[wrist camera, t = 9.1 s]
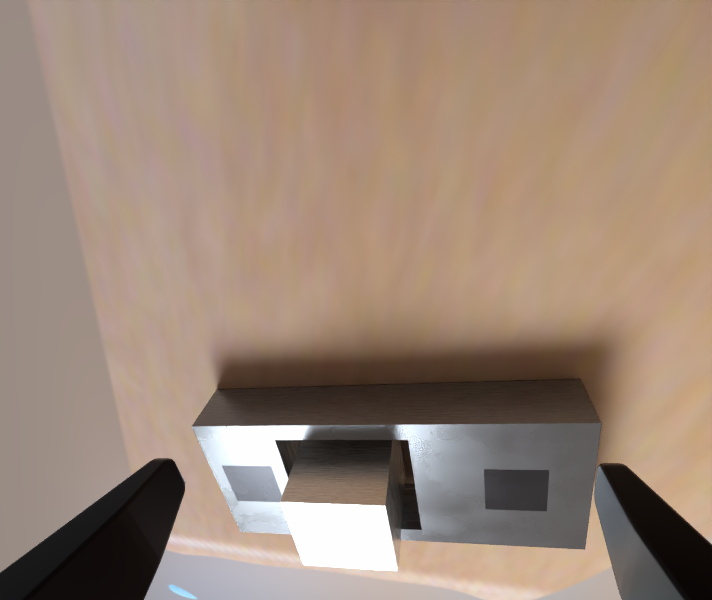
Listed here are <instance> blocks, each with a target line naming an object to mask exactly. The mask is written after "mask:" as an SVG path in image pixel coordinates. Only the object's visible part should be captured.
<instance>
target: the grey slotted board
mask: <svg viewBox="0 0 712 600" xmlns="http://www.w3.org/2000/svg"><path fill="white" fill-rule="evenodd" d="M601 424H602V423H601V421H600V419H599V417H598V415H597V413H596V410H595V408H594V406H593V404H592V402H591V400H590V398H589V396H588V394H587V391H586V389H585V387H584V385H583V383H582V381H581V379H564V380H529V381H494V382H460V383H425V384H391V385H356V386H321V387H287V388H252V389H218V390H216V391H215V393H214V394H213V396H212V397H211V399H210V400H209V402H208V403H207V405H206V406H205V408H204V409H203V411H202V412H201V414H200V415H199V416H198V418H197V419H196V421H195V422H194V424H193V425H192V428H193V430H194V432H195V434H196V437H197V439H198V441H199V443H200V445H201V447H202V449H203V452H204V454H205V456H206V458H207V460H208V462H209V465H210V467H211V469H212V471H213V473H214V475H215V478H216V480H217V482H218V484H219V486H220V488H221V491H222V493H223V495H224V497H225V499H226V501H227V504H228V506H229V508H230V510H231V512H232V514H233V517H234V519H235V521H236V523H237V525H238V527H239V530H240V532H257V533H277V534H292V533H291V530H290V528H289V525H288V522H287V519H286V517H285V514H284V511H283V509H282V506H281V503H280V501H281V498H282V495H283V492H284V489H285V486H286V484H287V481H288V478H289V475H290V472H291V469H292V467H293V464H294V461H295V458H296V455H297V452H298V450H299V447H300V444H301V441H302V440H408V442H409V449H410V456H411V462H412V469H413V475H414V482H415V484H404V499H403V513H402V527H401V540H413V541H432V542H451V543H471V544H490V545H510V546H529V547H548V548H568V549H585V546H586V538H587V530H588V523H589V515H590V507H591V500H592V492H593V485H594V477H595V469H596V462H597V454H598V446H599V439H600V431H601Z"/></svg>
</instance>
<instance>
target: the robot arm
mask: <svg viewBox="0 0 712 600" xmlns="http://www.w3.org/2000/svg"><path fill="white" fill-rule="evenodd" d="M184 492H185V482H184V479H183V477H182V475H181V473H180V472H179V470H178V468H177V466H176V464H175V462H174V461H173V460H172V459H169V458H157V459H154V460H152V461H150V462H149V463H147V464H146V465H145V466H143V467H142V468H141V469H139V470H138V471H137V472H135V473H134V474H133V475H131V476H130V477H129V478H127V479H126V480H125V481H123V482H122V483H121V484H119V485H118V486H117V487H115V488H114V489H112V490H111V491H110V492H108V493H107V494H106V495H104V496H103V497H102V498H100V499H99V500H98V501H96V502H95V503H94V504H92V505H91V506H89V507H88V508H87V509H85V510H84V511H83V512H82V513H80V514H79V515H77V516H76V517H75V518H73V519H72V520H71V521H69V522H68V523H67V524H65V525H64V526H63V527H61V528H60V529H59V530H57V531H56V532H55V533H53V534H52V535H50V536H49V537H48V538H46V539H45V540H44V541H42V542H41V543H40V544H38V545H37V546H36V547H34V548H33V549H32V550H30V551H29V552H28V553H26V554H25V555H23V556H22V557H21V558H19V559H18V560H17V561H16V562H14V563H13V564H11V565H10V566H9V567H7V568H6V569H5V570H3V571H2V572H0V600H144V598H145V596H146V594H147V592H148V589H149V587H150V585H151V583H152V580H153V578H154V576H155V574H156V571H157V569H158V566H159V564H160V562H161V559H162V556H163V553H164V551H165V548H166V545H167V542H168V539H169V537H170V534H171V531H172V528H173V525H174V522H175V519H176V516H177V513H178V510H179V507H180V504H181V502H182V499H183V496H184ZM594 497H595V504H596V508H597V512H598V516H599V519H600V523H601V527H602V531H603V534H604V538H605V542H606V546H607V549H608V553H609V557H610V560H611V564H612V568H613V571H614V575H615V579H616V582H617V586H618V589H619V593H620V596H621V599H622V600H712V544H711V543H710V542H709V541H707V540H706V539H705V538H704V537H703V536H702V535H701V534H700V533H699V532H698V531H697V530H696V529H694V528H693V527H692V526H691V525H690V524H689V523H688V522H687V521H686V520H685V519H684V518H683V517H681V516H680V515H679V514H678V513H677V512H676V511H675V510H674V509H673V508H672V507H671V506H670V505H668V504H667V503H666V502H665V501H664V500H663V499H662V498H661V497H660V496H659V495H658V494H656V493H655V492H654V491H653V490H652V489H651V488H650V487H649V486H648V485H647V484H646V483H645V482H643V481H642V480H641V479H640V478H639V477H638V476H637V475H636V474H635V473H634V472H633V471H632V470H630V469H629V468H628V467H627V466H625V465H624V464H620V463H602V464H600V465H599V466H598V469H597V476H596V483H595V491H594Z"/></svg>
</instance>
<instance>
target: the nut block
mask: <svg viewBox="0 0 712 600" xmlns="http://www.w3.org/2000/svg"><path fill="white" fill-rule="evenodd" d="M404 484H405V467H404V461H403V454H402V448H401V442H400V440H302V441H301V444H300V447H299V450H298V452H297V455H296V458H295V461H294V464H293V467H292V469H291V472H290V475H289V478H288V481H287V484H286V486H285V489H284V492H283V495H282V498H281V501H280V503H281V506H282V509H283V511H284V514H285V517H286V519H287V522H288V525H289V528H290V530H291V533H292V536H293V538H294V541H295V544H296V546H297V549H298V552H299V554H300V557H301V560H302V563H303V565H312V566H326V567H340V568H354V569H368V570H382V571H396V572H398V570H399V556H400V542H401V527H402V513H403V499H404Z"/></svg>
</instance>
